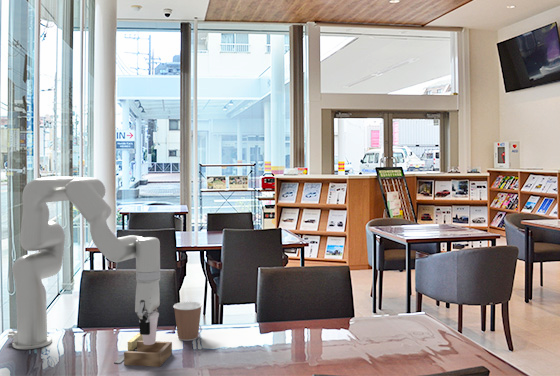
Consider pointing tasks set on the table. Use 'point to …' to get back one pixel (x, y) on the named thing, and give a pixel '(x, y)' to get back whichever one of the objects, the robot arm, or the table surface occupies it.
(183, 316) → the coffee cup
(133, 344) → the lock bar
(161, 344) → the cradle
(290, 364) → the table surface
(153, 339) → the smoothie
